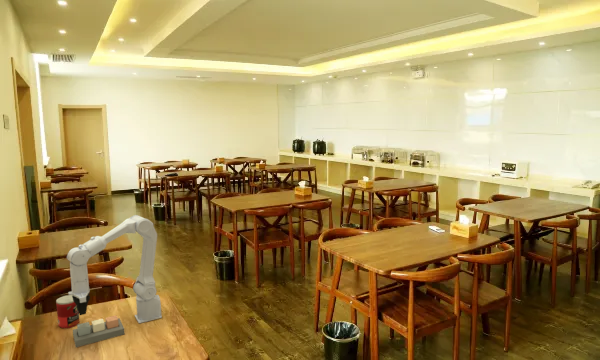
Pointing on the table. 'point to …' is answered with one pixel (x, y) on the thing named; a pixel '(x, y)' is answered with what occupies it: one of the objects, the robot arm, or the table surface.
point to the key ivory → (98, 325)
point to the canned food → (67, 312)
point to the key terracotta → (112, 322)
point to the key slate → (83, 329)
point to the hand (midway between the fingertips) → (82, 313)
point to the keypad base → (98, 335)
